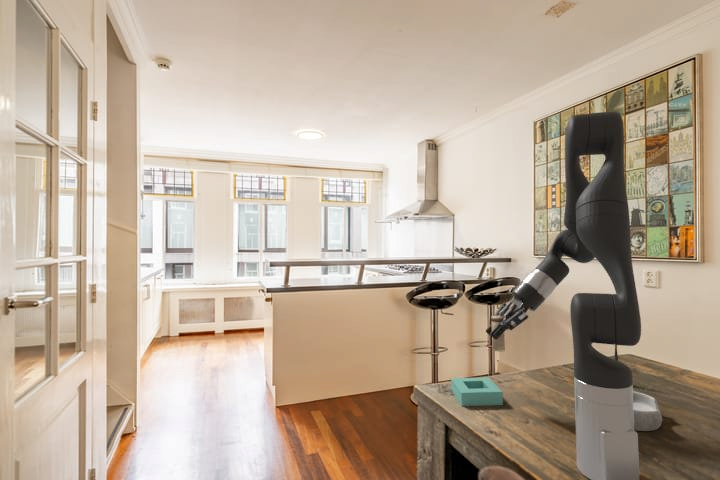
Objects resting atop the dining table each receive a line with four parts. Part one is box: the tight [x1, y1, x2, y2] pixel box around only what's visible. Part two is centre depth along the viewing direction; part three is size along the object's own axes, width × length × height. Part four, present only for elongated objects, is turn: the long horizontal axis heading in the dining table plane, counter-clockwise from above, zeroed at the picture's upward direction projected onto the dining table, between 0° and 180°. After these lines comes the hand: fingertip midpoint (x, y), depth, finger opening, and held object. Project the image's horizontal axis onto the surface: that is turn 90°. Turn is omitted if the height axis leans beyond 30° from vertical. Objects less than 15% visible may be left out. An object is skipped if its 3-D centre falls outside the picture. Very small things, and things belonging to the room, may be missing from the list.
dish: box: [633, 391, 663, 432], centre depth 91 cm, size 14×14×5 cm
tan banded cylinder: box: [490, 315, 506, 352], centre depth 103 cm, size 3×3×9 cm
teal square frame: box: [450, 376, 504, 407], centre depth 106 cm, size 11×11×4 cm
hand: (490, 335), depth 103 cm, fingers closed on tan banded cylinder, 3 cm apart
